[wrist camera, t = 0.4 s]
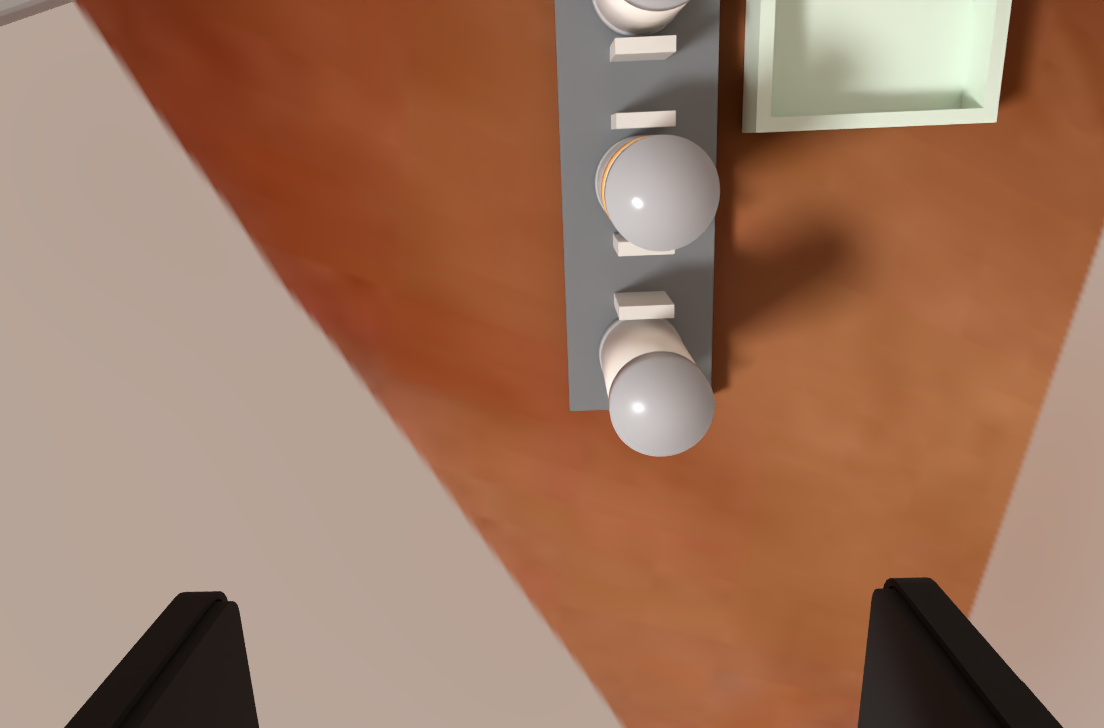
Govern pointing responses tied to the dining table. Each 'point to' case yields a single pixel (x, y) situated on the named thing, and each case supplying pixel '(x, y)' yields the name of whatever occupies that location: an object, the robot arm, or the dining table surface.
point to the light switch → (25, 8)
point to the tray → (872, 63)
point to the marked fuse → (658, 190)
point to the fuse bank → (596, 245)
